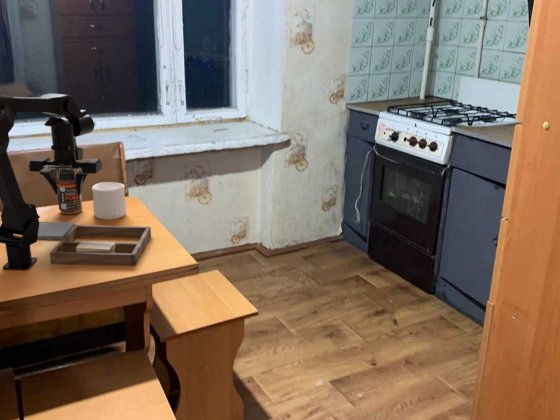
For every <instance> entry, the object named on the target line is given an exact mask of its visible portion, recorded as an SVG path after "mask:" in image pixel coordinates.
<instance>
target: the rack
mask: <svg viewBox="0 0 560 420" xmlns="http://www.w3.org/2000/svg"><path fill="white" fill-rule="evenodd" d="M151 229H152V228H151V226H139V225H138V226H135V225H134V226H133V225H131V226H130V225H129V226H127V225H95V224H94V225H93V224H92V225H91V224H89V225H87V224H86V225H85V224H75V225H74V226H73V228H72V229H71V230H70V231H69V232H68V233H67V234H66V235H65V236H64V238H63V239H62V240H60V241H59V242H58V243H57V244H55V246H54V248H52V250H51V251H50V252H49V258H50V260H49V261H50V264H51V265H52V264H53V265H56V264H57V265H92V266H93V265H95V266H97V265H98V266H134V267H135V266H137V264H138V262H139V260H140V258H141V256H142V254H143V252H144V251H145V248H146V246H147V245H148V243H149V241H150V239H151V238H152V230H151ZM78 237H107V238H109V237H110V238H111V237H113V238H140V239H139V240H138V241H137V242H123V241H122V242H119V241H118V242H117V241H116V242H115V241H113V242H112V241H109V242H110V243H115V252H116V253H94V252H76V247H77V246H78V245H79V244H80V243H81V242H82V241H75V240H76V239H77V238H78Z"/></svg>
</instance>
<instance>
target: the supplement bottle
mask: <svg viewBox="0 0 560 420" xmlns="http://www.w3.org/2000/svg"><path fill="white" fill-rule="evenodd" d="M59 174H60V175H59V176H60V178H59V179H58V180H57V194H58V195H57V194H56V195H57V202H58V210H59V211H60V212H61V211H62V212H75V211H78V210H79V209H80V208H81V203H80V195H78V192H77V183H76V177H75V173H74V171H73V170H62V171H60V172H59ZM62 212H61V213H62Z"/></svg>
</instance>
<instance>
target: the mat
mask: <svg viewBox="0 0 560 420" xmlns="http://www.w3.org/2000/svg"><path fill="white" fill-rule="evenodd" d="M75 223H76V222H74V221H73V222H72V221H71V222H70V221H69V222H68V221H39V230H38V237H37V240H60V241H61V240H62V239H63V238H64V236H65V235H66V234H67V233H68V232H69V231H70V230H71V229H72V228H73V226H74V225H76V224H75Z"/></svg>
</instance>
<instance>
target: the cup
mask: <svg viewBox="0 0 560 420" xmlns="http://www.w3.org/2000/svg"><path fill="white" fill-rule="evenodd" d="M125 187H126V186H125V184H124V183H121V182H114V181H103V182H97V183H95V184H94V185H92V187H91V190H92V195H93V196H92V199H93V204H92V206H93V208H92V209H93V214H94V216H95V218H98V219H100V220H115V219H116V220H117V219H121V218H122V217H124V216H125V215H126V213H127V201H126V195H125Z"/></svg>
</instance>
